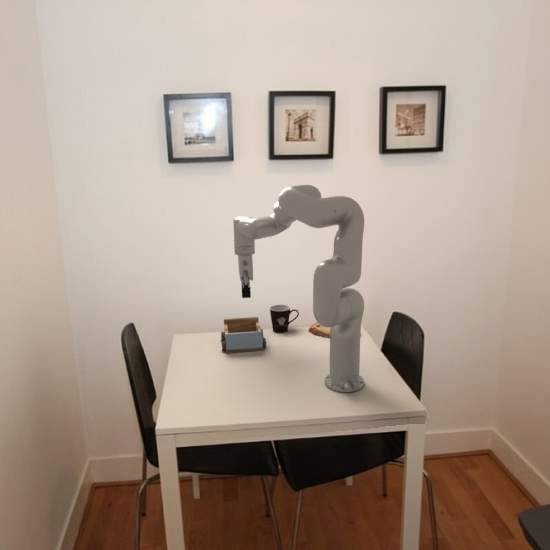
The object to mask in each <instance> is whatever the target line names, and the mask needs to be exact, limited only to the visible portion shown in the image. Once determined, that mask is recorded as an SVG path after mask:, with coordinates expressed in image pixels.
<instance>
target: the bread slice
mask: <svg viewBox="0 0 550 550" xmlns="http://www.w3.org/2000/svg"><path fill="white" fill-rule="evenodd" d="M330 329H331V327H323V326H321V325H320V324H319V323H318V322H317V321H316V322H314V323H313V324H312V325H310V326H309V328H308V330H309V331H308V332H309V333H311V334H312V335H314V336H318V337H320V336H321V338H325V337H326V338H325V339H330Z"/></svg>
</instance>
